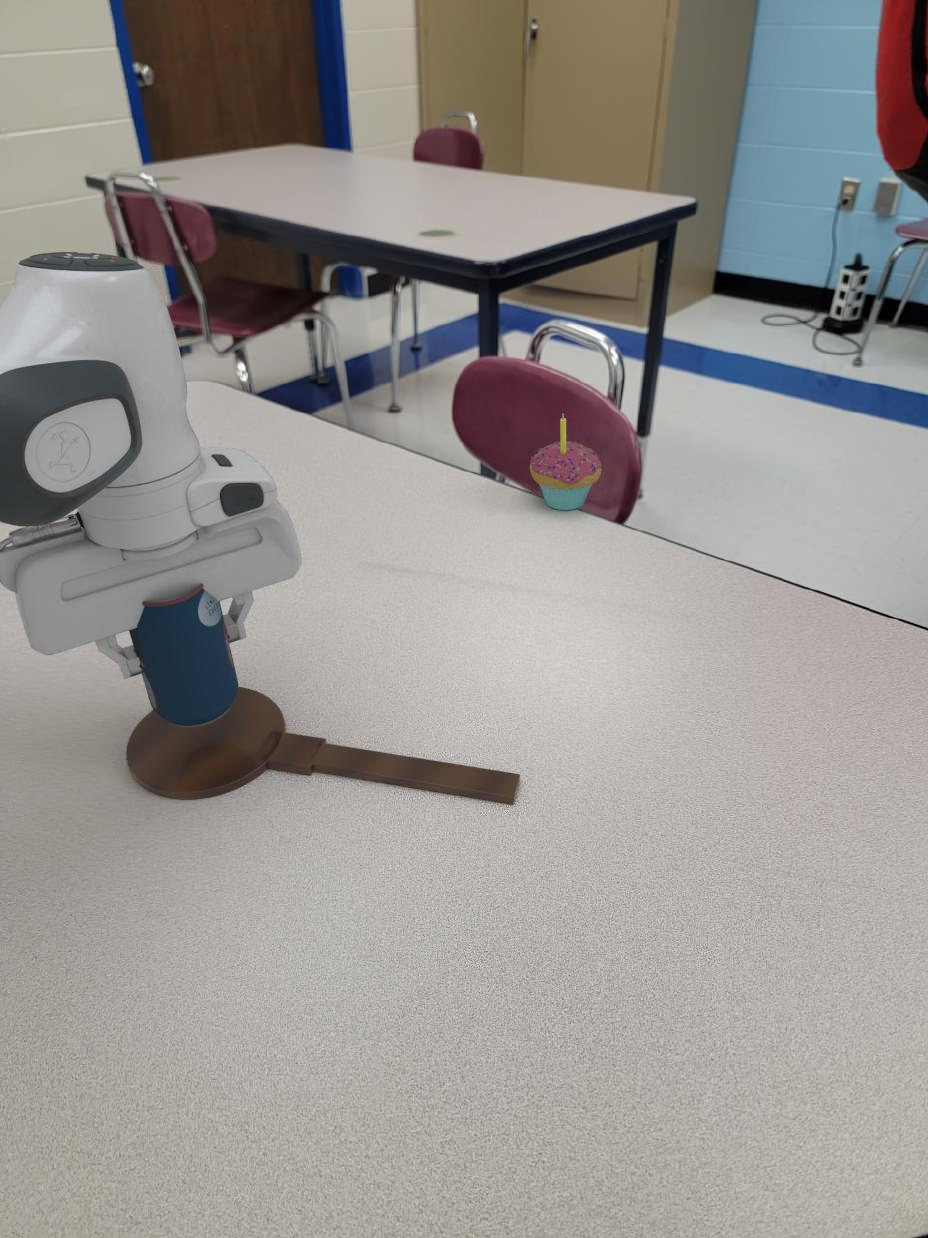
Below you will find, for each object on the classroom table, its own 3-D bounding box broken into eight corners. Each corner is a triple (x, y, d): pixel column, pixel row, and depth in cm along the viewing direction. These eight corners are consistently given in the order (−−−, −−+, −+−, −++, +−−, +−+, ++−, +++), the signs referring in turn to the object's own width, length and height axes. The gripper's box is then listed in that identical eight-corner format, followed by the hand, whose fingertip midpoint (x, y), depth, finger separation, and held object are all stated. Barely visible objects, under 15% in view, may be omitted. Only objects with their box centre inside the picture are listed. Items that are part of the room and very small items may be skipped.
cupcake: (590, 522, 105) (596, 425, 98) (520, 512, 107) (520, 417, 100) (605, 489, 111) (612, 395, 104) (538, 480, 113) (540, 388, 106)
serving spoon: (96, 785, 72) (94, 778, 72) (176, 683, 83) (174, 676, 82) (499, 857, 65) (499, 850, 65) (532, 736, 75) (532, 729, 75)
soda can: (258, 692, 75) (233, 569, 68) (201, 744, 70) (167, 617, 63) (194, 668, 77) (163, 548, 70) (135, 717, 72) (96, 593, 65)
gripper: (-11, 560, 56) (54, 725, 64) (296, 476, 64) (319, 632, 72) (-24, 518, 61) (38, 678, 69) (265, 445, 69) (290, 595, 77)
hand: (185, 654), depth 71 cm, fingers closed on soda can, 7 cm apart
